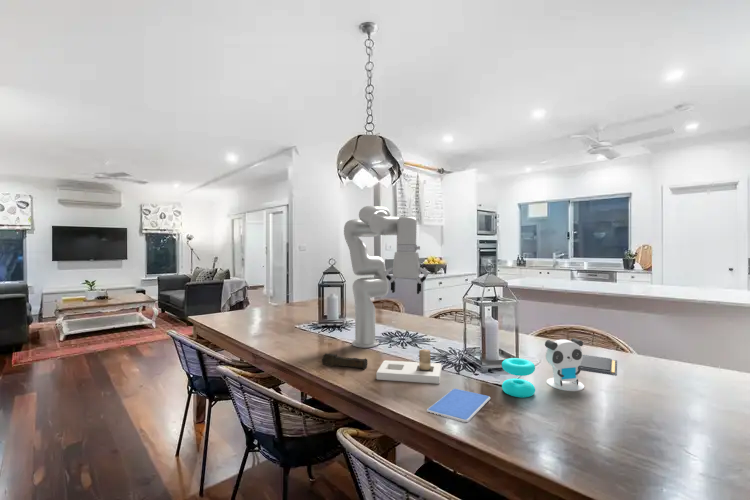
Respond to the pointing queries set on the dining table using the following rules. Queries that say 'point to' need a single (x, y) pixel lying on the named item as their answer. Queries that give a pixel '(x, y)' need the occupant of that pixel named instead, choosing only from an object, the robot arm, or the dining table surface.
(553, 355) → the panda figurine
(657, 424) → the dining table surface
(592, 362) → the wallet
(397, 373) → the hole board
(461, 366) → the dining table surface
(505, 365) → the donuts
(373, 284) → the robot arm
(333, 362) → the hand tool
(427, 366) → the oak peg
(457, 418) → the tablet computer
